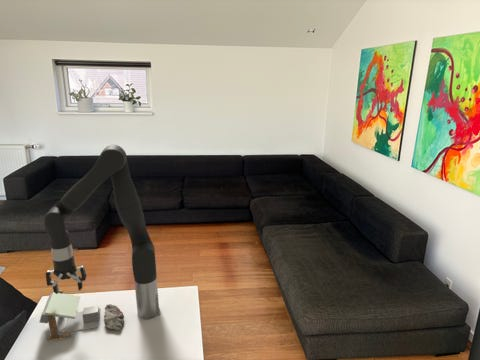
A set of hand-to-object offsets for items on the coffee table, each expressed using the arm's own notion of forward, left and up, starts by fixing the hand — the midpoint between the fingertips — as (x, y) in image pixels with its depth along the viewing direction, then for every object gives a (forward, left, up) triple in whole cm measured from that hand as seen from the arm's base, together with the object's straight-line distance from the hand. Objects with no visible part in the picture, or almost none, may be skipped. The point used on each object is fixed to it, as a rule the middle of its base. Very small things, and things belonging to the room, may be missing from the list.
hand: (68, 291), depth 141 cm
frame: (+4, 0, -15) cm, 16 cm away
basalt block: (-4, 0, -13) cm, 13 cm away
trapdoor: (+5, 0, -10) cm, 11 cm away
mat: (-3, -1, -16) cm, 16 cm away
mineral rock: (-16, +3, -16) cm, 23 cm away
